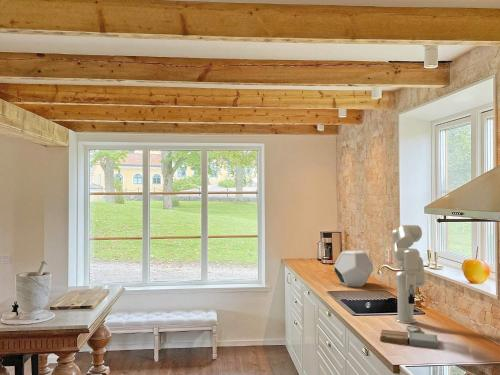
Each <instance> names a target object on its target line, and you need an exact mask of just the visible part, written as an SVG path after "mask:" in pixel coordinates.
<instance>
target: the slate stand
mask: <svg viewBox="0 0 500 375" xmlns="http://www.w3.org/2000/svg"><path fill="white" fill-rule="evenodd" d="M408 343H409V346H411V347H412V346H413V347H420V348H421V347H422V348H429V349H439V341H438V334H431V333H430V334H429V333H424V334H422V333H411V332H410V331H409V338H408Z"/></svg>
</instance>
